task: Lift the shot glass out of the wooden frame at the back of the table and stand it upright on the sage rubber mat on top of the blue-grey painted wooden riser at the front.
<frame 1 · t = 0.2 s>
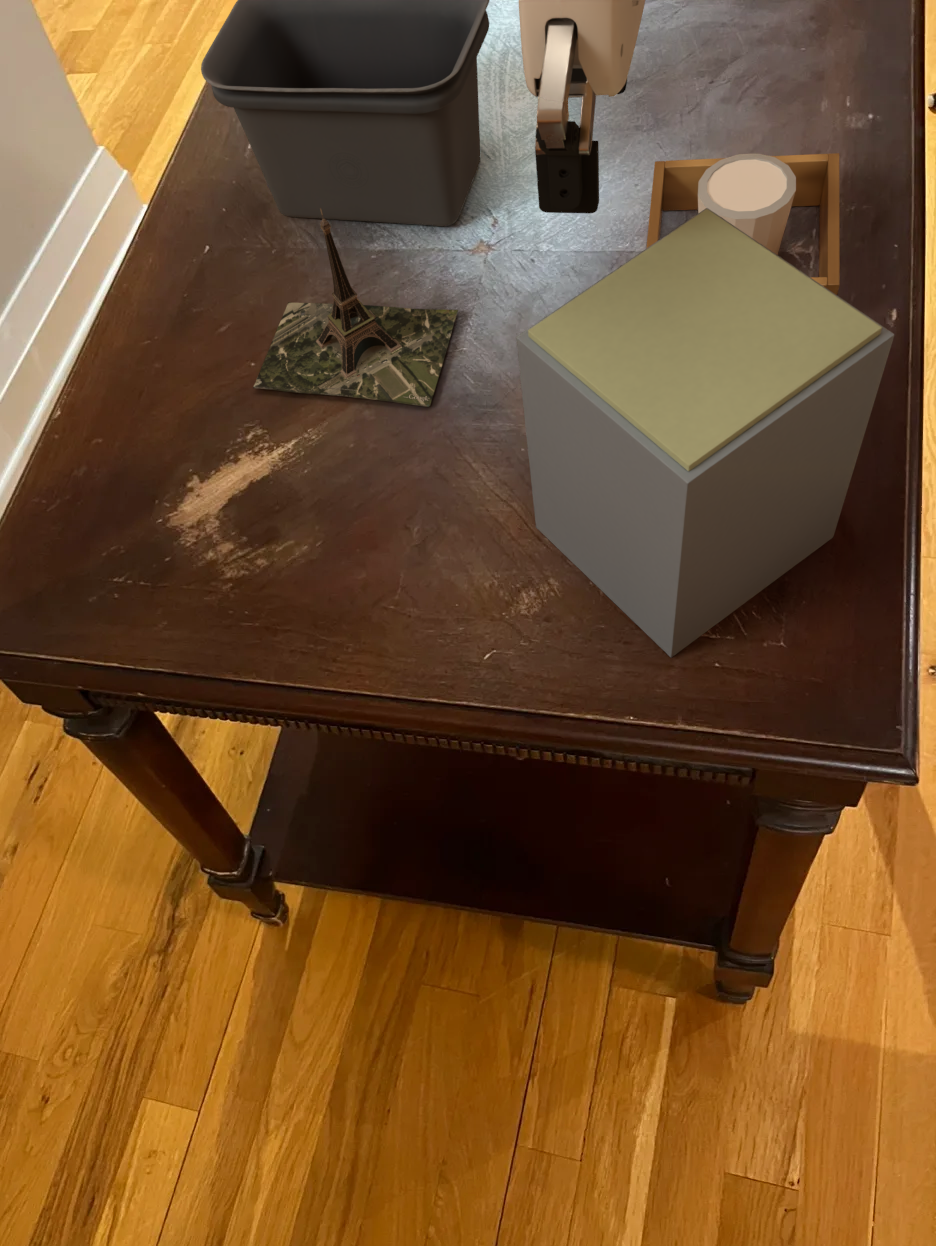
hand: (584, 148, 62), 22 cm above the table, tool pointing down, fingers open, 9 cm apart
riser: (680, 532, 75), on the table
eiffel tower figurine: (356, 355, 88), on the table
mat: (697, 335, 59), resting on riser
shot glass: (736, 264, 85), resting in wooden frame
wooden frame: (736, 262, 85), on the table
storage bin: (381, 185, 96), on the table
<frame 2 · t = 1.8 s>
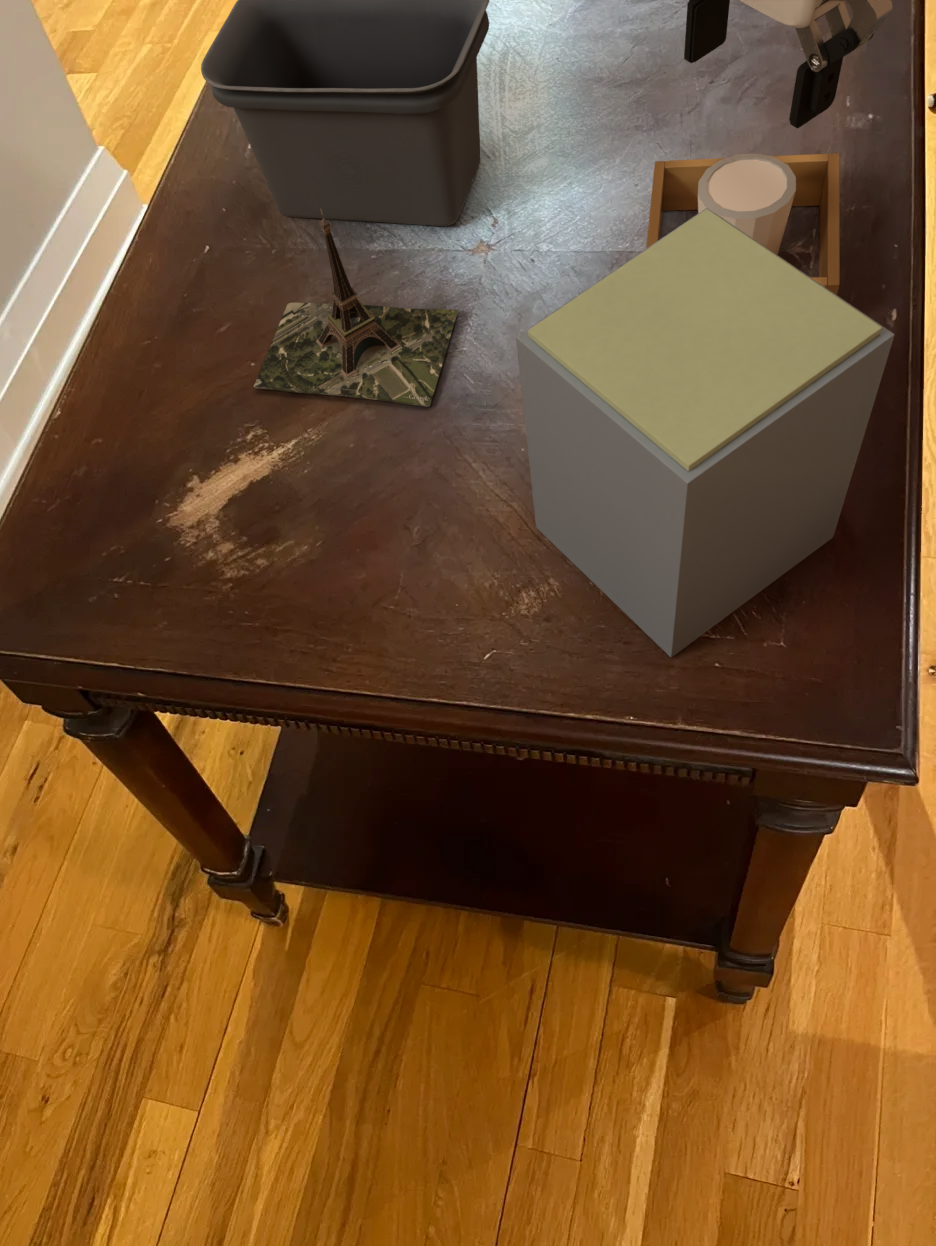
hand: (756, 82, 72), 14 cm above the table, tool pointing down, fingers open, 9 cm apart
nothing on the table moved.
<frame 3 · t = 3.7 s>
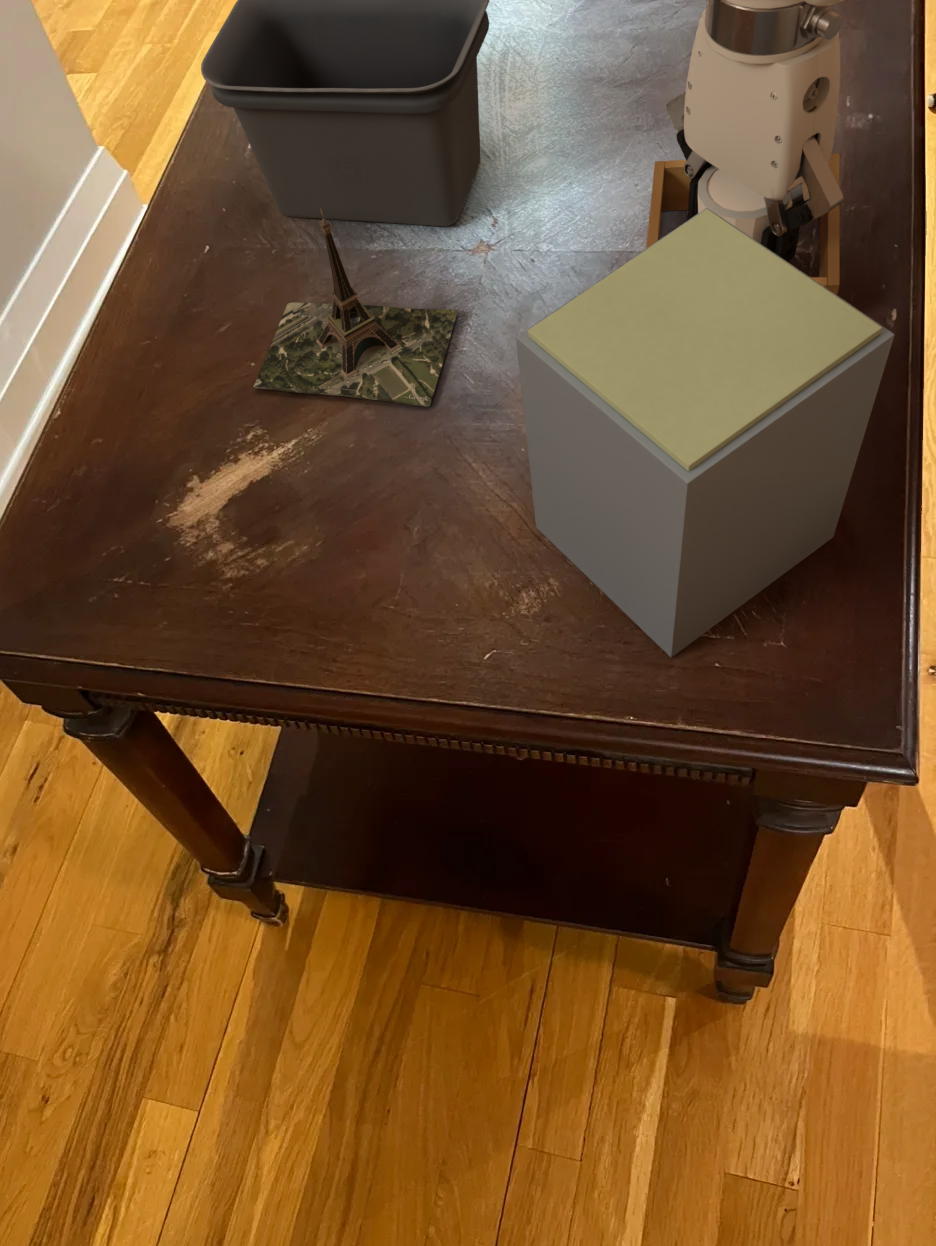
hand: (739, 239, 83), 2 cm above the table, tool pointing down, fingers closed on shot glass, 6 cm apart
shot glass: (736, 264, 85), resting in wooden frame, touching gripper
everything else where it was.
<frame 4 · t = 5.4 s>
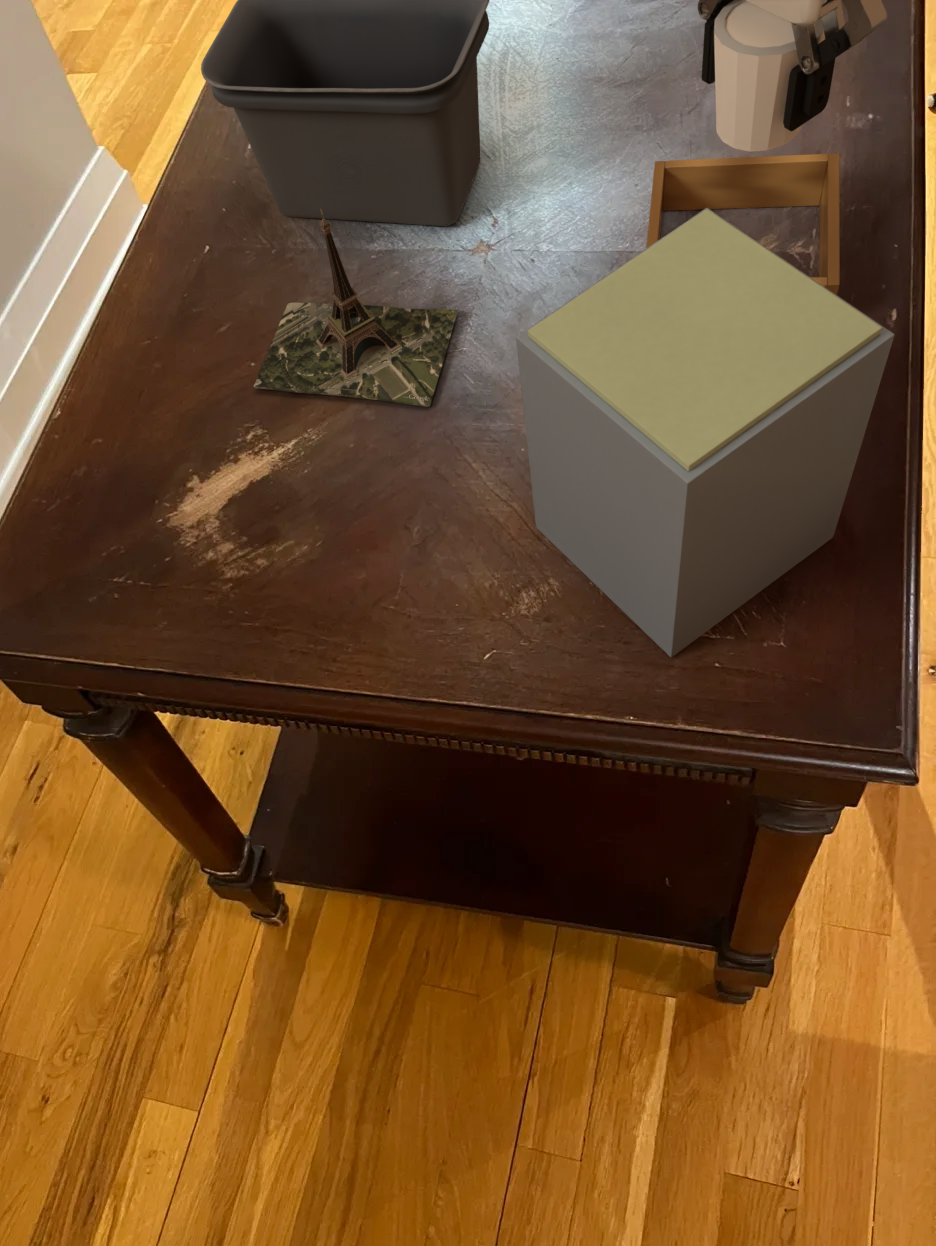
hand: (762, 93, 72), 14 cm above the table, tool pointing down, fingers closed on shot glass, 6 cm apart
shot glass: (758, 126, 74), point 12 cm above the table, touching gripper
everything else where it was.
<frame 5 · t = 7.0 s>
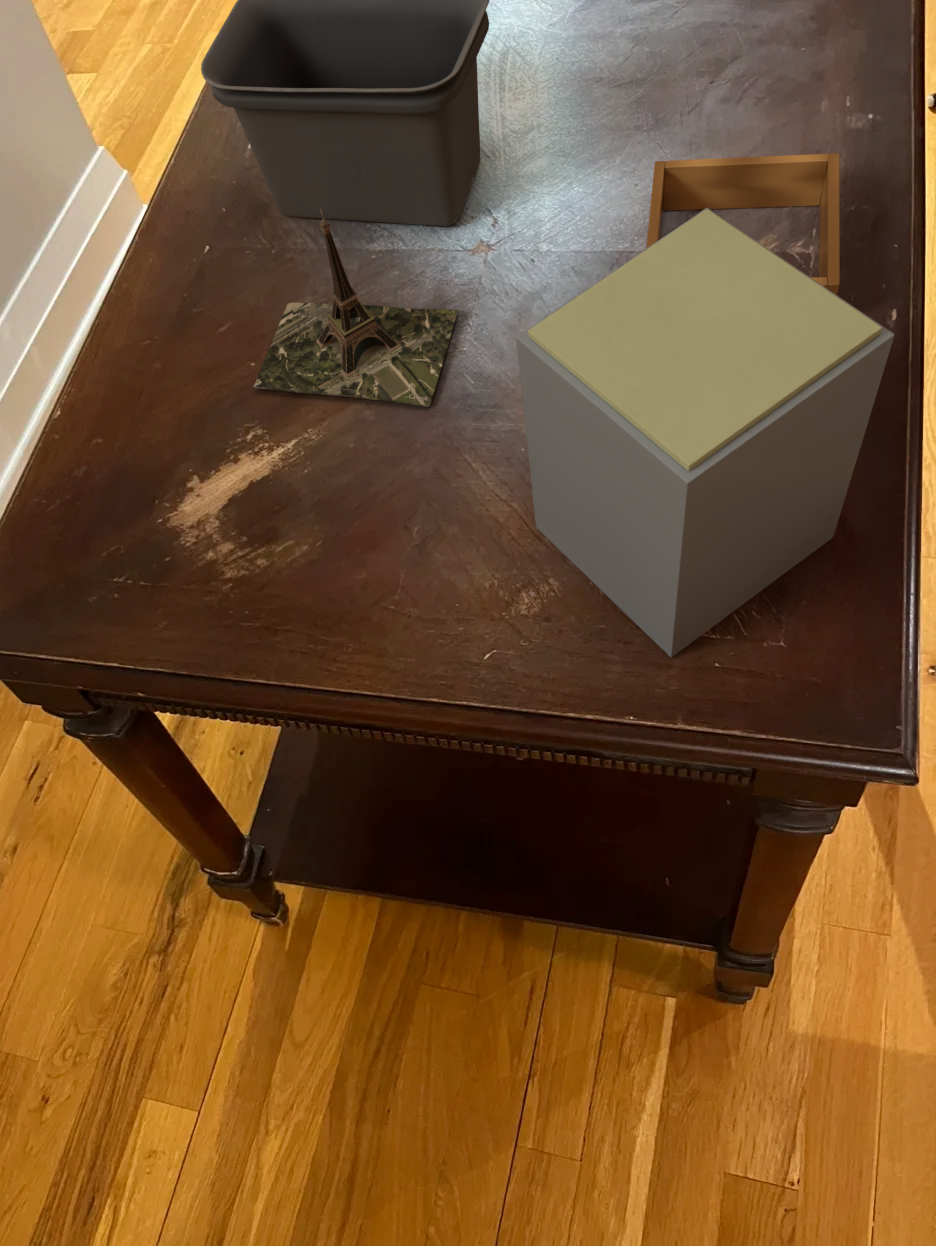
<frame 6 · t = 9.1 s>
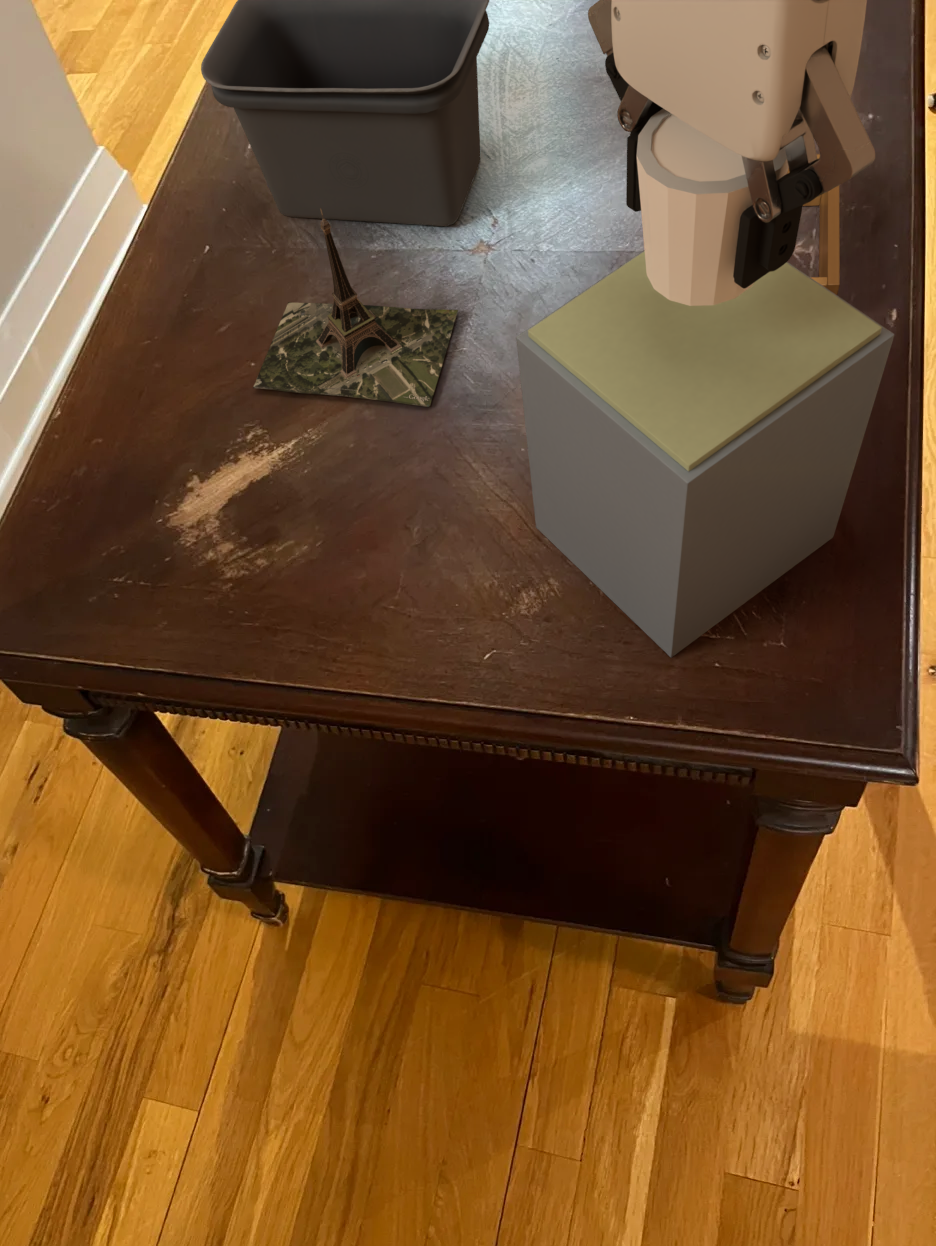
hand: (707, 229, 53), 25 cm above the table, tool pointing down, fingers closed on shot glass, 6 cm apart
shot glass: (703, 268, 55), point 23 cm above the table, touching gripper
everything else where it was.
when the fingers open (21 cm above the table, at t = 10.6 s): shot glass stays where it is, resting on mat.
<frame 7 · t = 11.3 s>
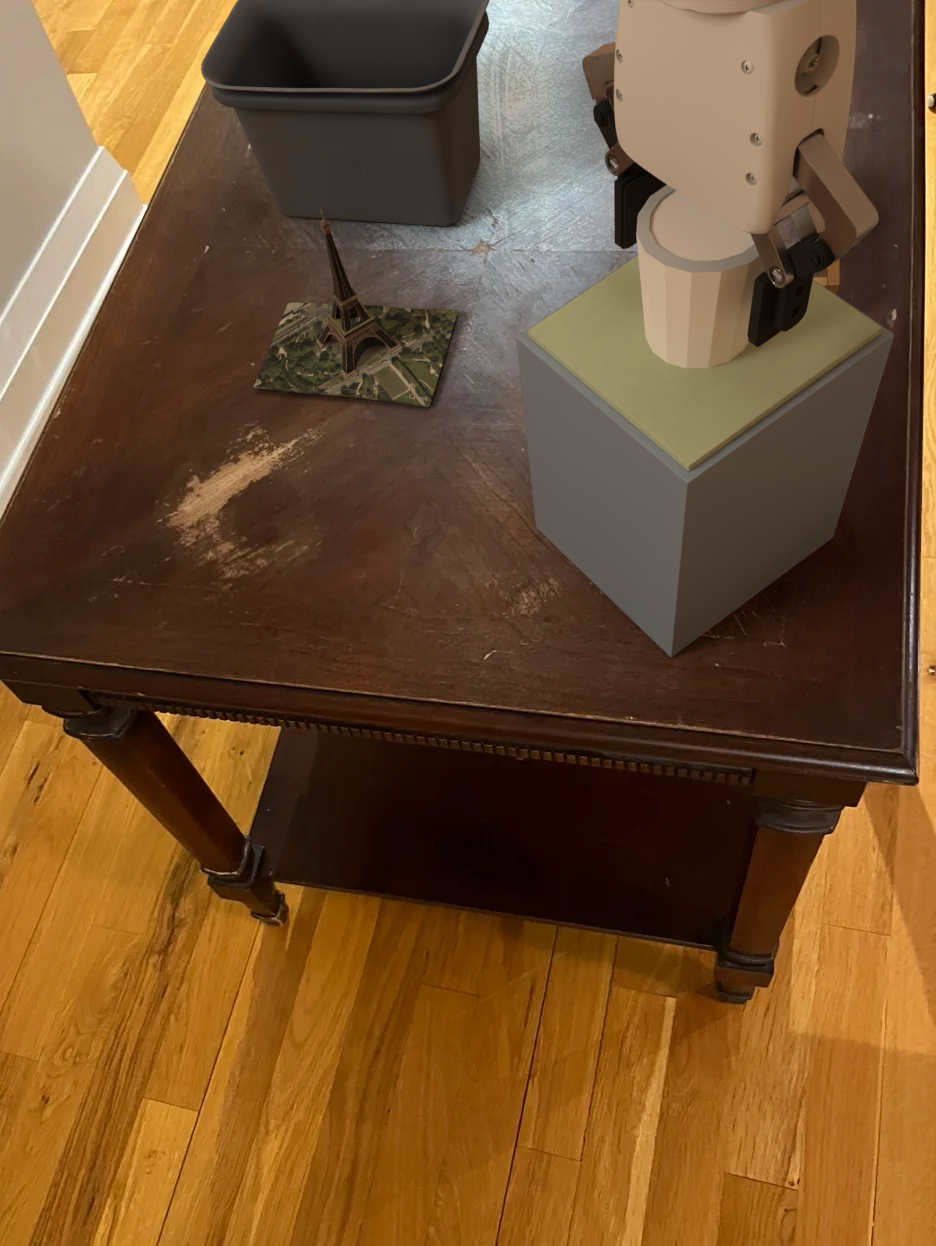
hand: (705, 279, 55), 22 cm above the table, tool pointing down, fingers open, 9 cm apart
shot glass: (698, 331, 59), point 18 cm above the table, touching mat
everything else where it was.
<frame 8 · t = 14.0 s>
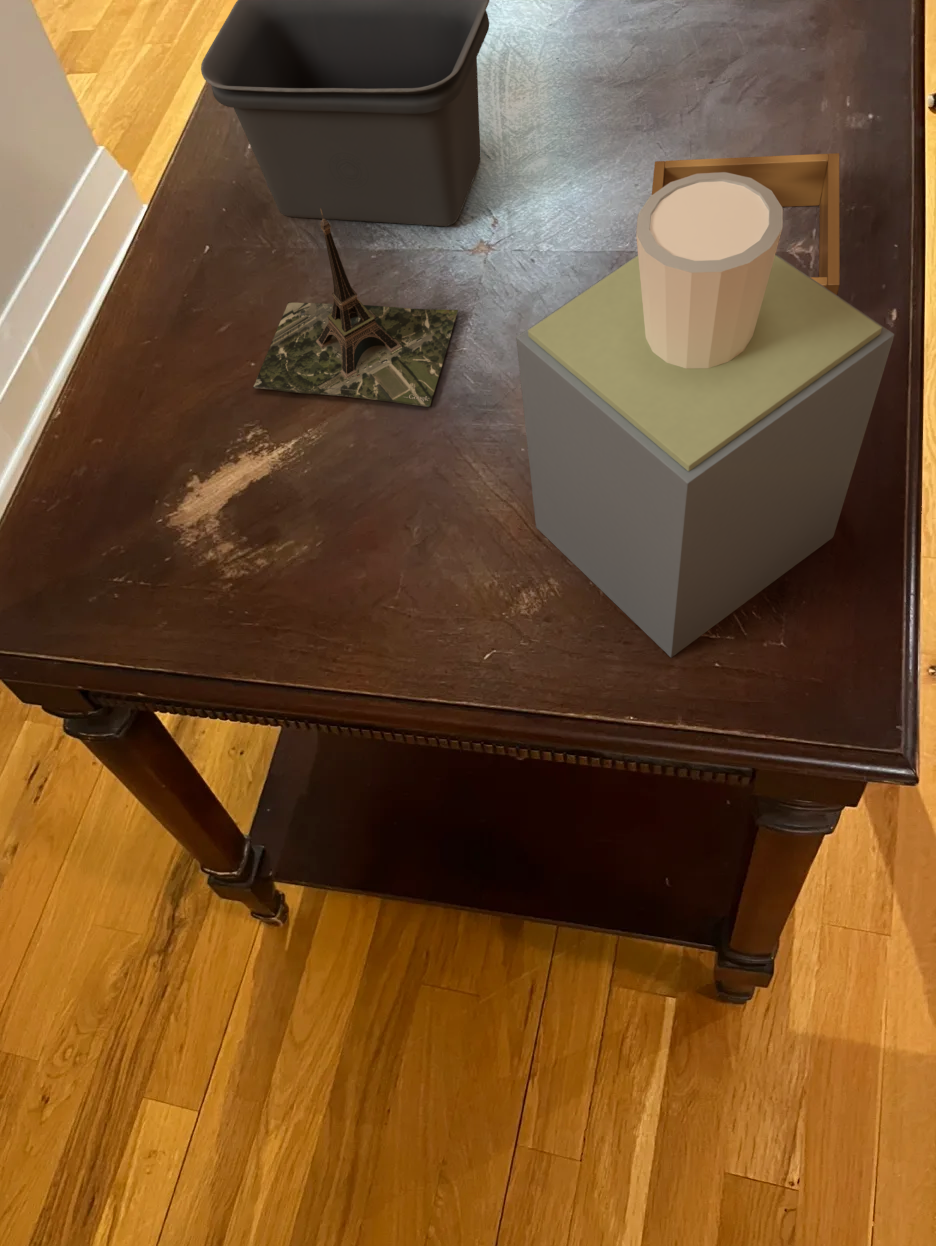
nothing on the table moved.
at the end: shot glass inside the target area on the mat (0.1 cm from its centre), point 0.3 cm above the mat's base; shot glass tilted 0°; the gripper is holding nothing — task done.
